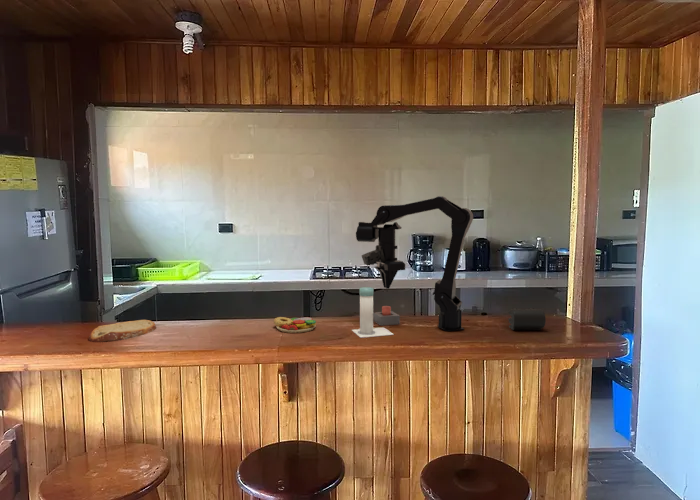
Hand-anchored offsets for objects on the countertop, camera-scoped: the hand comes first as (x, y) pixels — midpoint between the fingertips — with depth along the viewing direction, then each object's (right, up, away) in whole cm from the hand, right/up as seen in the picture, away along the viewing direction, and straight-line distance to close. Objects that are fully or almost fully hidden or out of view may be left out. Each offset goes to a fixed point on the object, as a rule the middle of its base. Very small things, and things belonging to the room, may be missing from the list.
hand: (386, 288), depth 169 cm
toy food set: (-30, -13, -6) cm, 33 cm away
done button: (0, -10, +1) cm, 10 cm away
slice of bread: (-84, -14, -12) cm, 86 cm away
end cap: (+45, -13, -8) cm, 47 cm away
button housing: (0, -12, +1) cm, 12 cm away
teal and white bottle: (-7, -13, -12) cm, 19 cm away
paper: (-5, -13, -12) cm, 19 cm away
